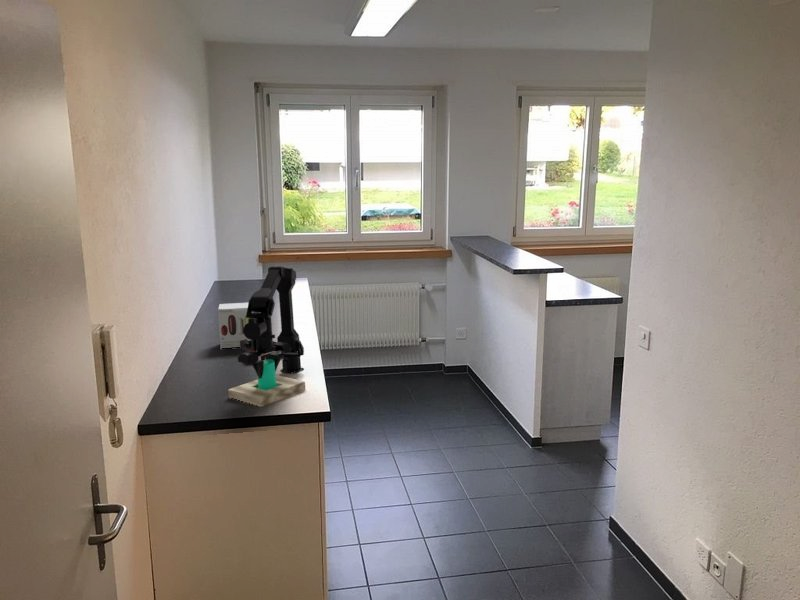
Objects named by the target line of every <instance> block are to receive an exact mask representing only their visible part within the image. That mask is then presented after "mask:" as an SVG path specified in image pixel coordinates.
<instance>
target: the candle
mask: <svg viewBox="0 0 800 600" xmlns="http://www.w3.org/2000/svg"><path fill="white" fill-rule="evenodd" d="M262 361H264V366H263V375H262V378H260V379H259V378H258V375H257V374H256V376H257V380H258V388H259V389H263V390H269V389H271V388H274V387H276V378H275V375H276V371H275V363H274V360H272V359H265V360H262Z"/></svg>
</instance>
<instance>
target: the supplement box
mask: <svg viewBox="0 0 800 600" xmlns="http://www.w3.org/2000/svg"><path fill="white" fill-rule="evenodd" d="M248 303H249V301H246V302H234V303H233V302H232V303H231V302H230V303H219V304H218V309H217V313H218V317H217V318H218V329H219V347H220V348H219V349H220V350H223V349H222V348H231V347H240V341H241V340H244V339H247V340H248V341H250V339H248V338H246V337H245V335H244V333H243V329H244V326H245V325H246V324H247V323H249V322H248V319H249V318H246V314H247V309H248ZM252 313H254V312H253V311H252Z"/></svg>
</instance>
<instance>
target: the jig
mask: <svg viewBox="0 0 800 600" xmlns="http://www.w3.org/2000/svg"><path fill="white" fill-rule="evenodd" d="M275 378H276V387H274V388H271V389H269V390H263V389H259V388H258V379H255V380H251V381H249V382H246V383H244V384H241V385H238V386H234V387H231V388H229V389H227V392H228V398H229V397H230V398H229V399H231V398H234V399H237V400H236V401H238V400H240V401H239V402H241V401H243V402H242V403H245V402H247V403H246V404H249V403H250V405H252V404H253V406H256V405H257V407H260V408H261V406H262V407H265V406H267V405H270V404H272V403H275V402H277V401H280V400H282V399H285V398H288V397H290V396H293V395H296V394H298V393H301V392H304V391H306V381H304V380H300V379H295V378H290V377H287V376H283V375H277V374H275ZM234 399H233V400H234ZM264 405H265V406H264Z"/></svg>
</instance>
